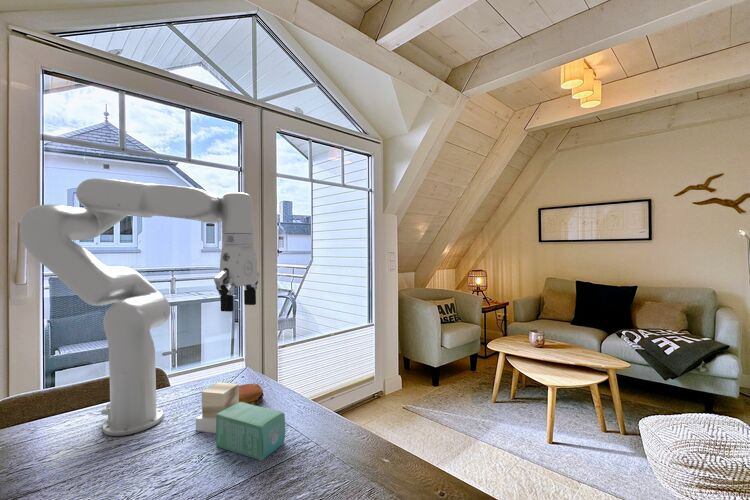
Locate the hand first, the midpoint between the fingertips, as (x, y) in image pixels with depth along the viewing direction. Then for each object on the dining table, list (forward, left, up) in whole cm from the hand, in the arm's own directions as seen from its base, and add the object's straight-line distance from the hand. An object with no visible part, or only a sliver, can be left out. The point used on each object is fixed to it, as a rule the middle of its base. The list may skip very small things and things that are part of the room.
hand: (239, 307), depth 90 cm
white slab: (-3, -4, -28) cm, 29 cm away
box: (+10, -11, -29) cm, 32 cm away
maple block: (-3, -4, -25) cm, 26 cm away
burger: (-4, +8, -29) cm, 30 cm away
